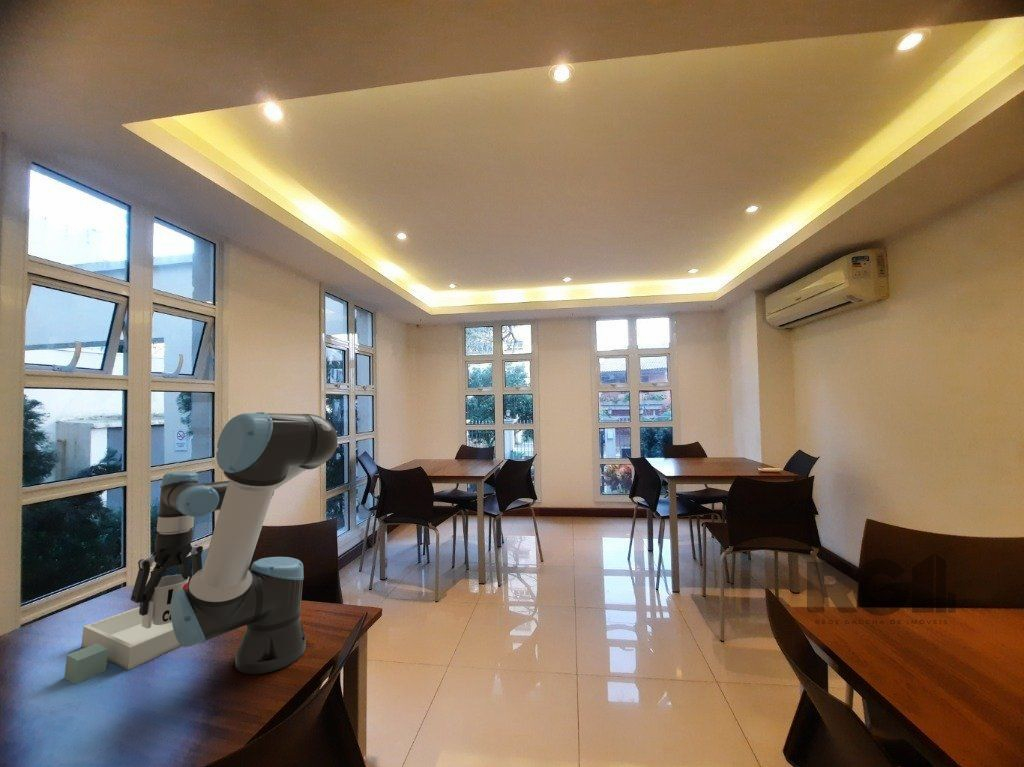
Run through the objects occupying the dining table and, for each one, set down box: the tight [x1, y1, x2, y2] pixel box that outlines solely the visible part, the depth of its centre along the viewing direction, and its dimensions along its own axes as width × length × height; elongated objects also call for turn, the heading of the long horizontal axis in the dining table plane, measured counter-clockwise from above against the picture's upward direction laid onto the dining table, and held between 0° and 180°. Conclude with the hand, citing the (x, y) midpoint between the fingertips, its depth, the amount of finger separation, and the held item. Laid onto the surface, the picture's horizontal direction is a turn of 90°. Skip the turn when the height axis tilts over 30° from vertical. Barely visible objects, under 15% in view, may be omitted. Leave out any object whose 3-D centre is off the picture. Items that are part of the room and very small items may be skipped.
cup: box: [150, 574, 189, 625], centre depth 103 cm, size 8×8×10 cm
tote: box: [80, 606, 183, 671], centre depth 105 cm, size 22×20×5 cm
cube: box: [63, 643, 108, 685], centre depth 90 cm, size 5×5×5 cm
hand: (165, 618), depth 103 cm, fingers closed on cup, 8 cm apart
